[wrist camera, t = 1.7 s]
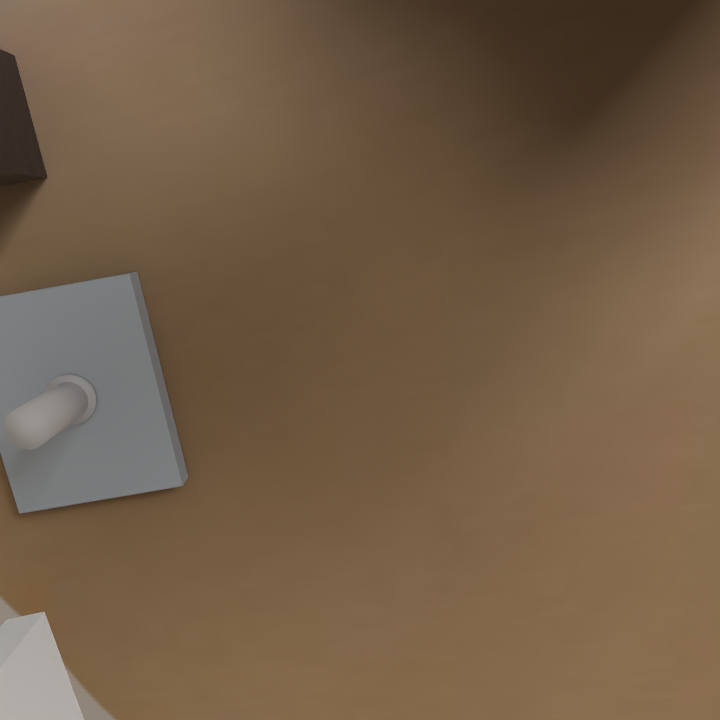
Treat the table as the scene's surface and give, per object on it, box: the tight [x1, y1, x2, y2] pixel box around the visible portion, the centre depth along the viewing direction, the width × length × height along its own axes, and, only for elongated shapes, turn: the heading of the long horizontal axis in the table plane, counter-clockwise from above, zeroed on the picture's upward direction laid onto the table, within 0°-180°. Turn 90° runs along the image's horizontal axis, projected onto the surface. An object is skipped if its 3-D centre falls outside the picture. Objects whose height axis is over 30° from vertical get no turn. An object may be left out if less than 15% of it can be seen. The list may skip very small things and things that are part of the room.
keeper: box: [0, 272, 188, 514], centre depth 40 cm, size 14×11×8 cm
